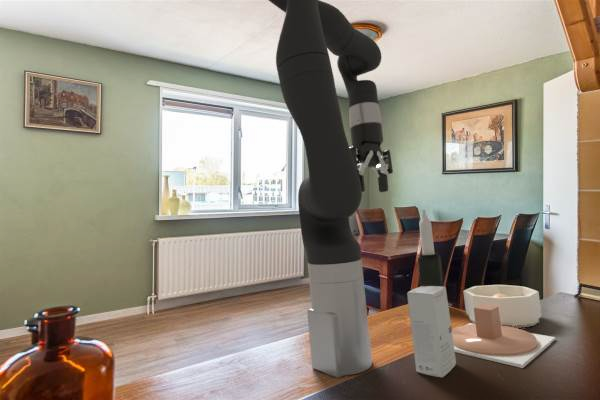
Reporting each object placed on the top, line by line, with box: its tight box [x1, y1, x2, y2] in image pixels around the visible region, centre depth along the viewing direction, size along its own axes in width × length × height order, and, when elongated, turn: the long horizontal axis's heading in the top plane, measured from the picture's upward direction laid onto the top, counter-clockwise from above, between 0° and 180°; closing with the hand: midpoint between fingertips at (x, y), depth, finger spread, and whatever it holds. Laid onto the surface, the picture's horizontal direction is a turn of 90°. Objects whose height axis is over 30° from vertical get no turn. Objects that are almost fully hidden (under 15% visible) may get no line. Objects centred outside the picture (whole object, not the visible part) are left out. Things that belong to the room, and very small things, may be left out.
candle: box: [417, 208, 445, 287], centre depth 90 cm, size 5×5×25 cm
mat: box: [454, 322, 556, 369], centre depth 62 cm, size 15×15×1 cm
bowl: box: [462, 284, 543, 326], centre depth 75 cm, size 13×13×6 cm
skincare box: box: [406, 286, 457, 378], centre depth 55 cm, size 6×4×12 cm
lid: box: [451, 305, 537, 355], centre depth 62 cm, size 14×14×6 cm
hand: (372, 191), depth 83 cm, fingers open, 8 cm apart
